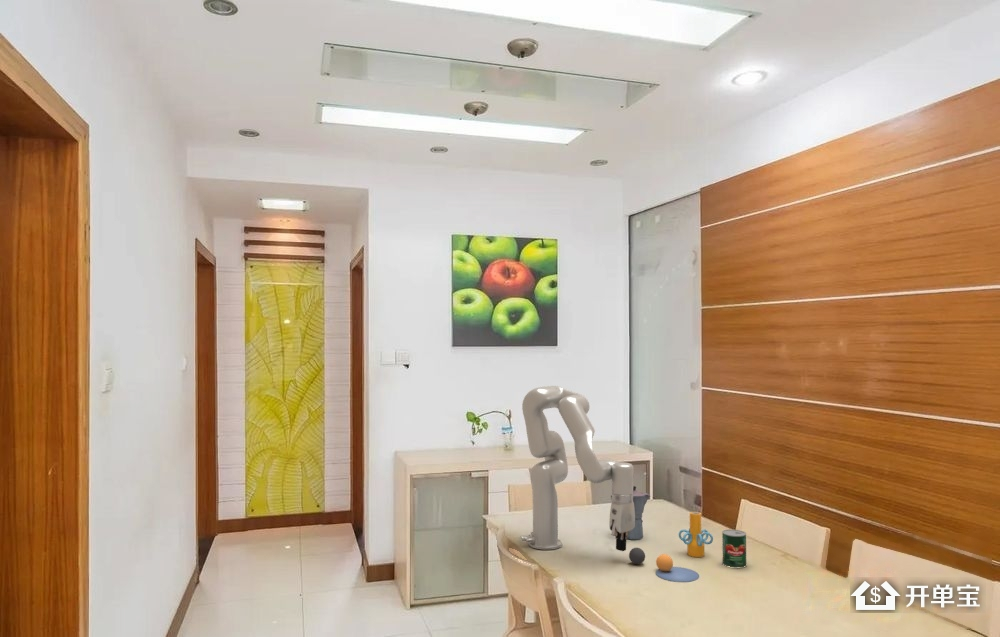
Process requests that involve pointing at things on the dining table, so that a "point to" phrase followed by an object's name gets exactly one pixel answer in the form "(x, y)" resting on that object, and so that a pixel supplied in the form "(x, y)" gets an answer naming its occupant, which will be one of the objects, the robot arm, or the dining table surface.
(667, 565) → the object ball
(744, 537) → the canned tomato
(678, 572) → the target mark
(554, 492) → the robot arm
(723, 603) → the dining table surface
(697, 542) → the cylinder
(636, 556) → the dark grey ball
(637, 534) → the moka pot
